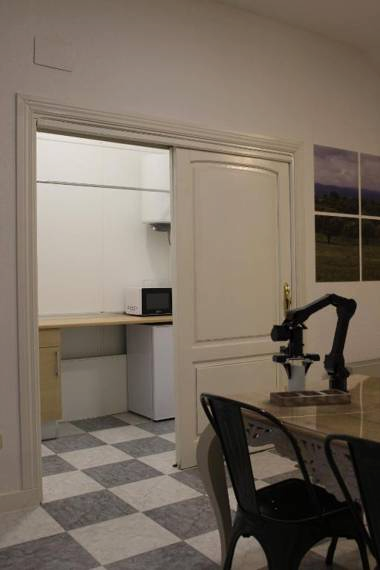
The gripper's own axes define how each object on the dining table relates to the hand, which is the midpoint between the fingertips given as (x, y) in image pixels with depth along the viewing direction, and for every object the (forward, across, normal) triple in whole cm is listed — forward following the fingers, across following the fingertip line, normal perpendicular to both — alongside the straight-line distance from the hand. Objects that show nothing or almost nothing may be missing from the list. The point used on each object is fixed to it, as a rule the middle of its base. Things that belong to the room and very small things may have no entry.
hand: (296, 379), depth 236 cm
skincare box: (+7, 0, 0) cm, 7 cm away
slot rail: (+6, 0, +13) cm, 15 cm away
